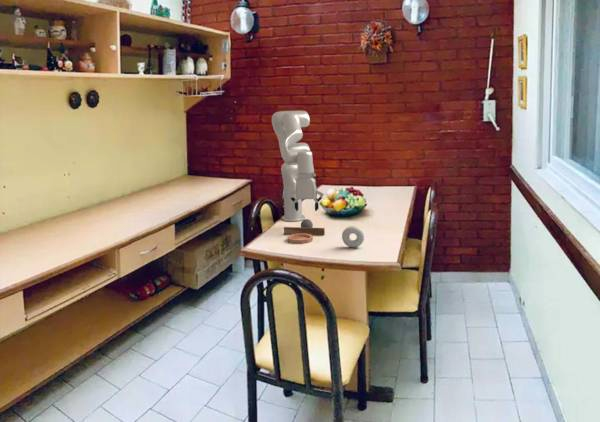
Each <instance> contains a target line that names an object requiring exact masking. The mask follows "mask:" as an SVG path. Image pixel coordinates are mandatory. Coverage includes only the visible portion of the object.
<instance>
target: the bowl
mask: <svg viewBox="0 0 600 422" xmlns="http://www.w3.org/2000/svg"><path fill="white" fill-rule="evenodd" d="M313 241H314V235H310V234H305V233H298V234H292V235H287V242H289V243H290V244H293V245H294V244H295V245H304V244H310V243H312V242H313Z"/></svg>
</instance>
